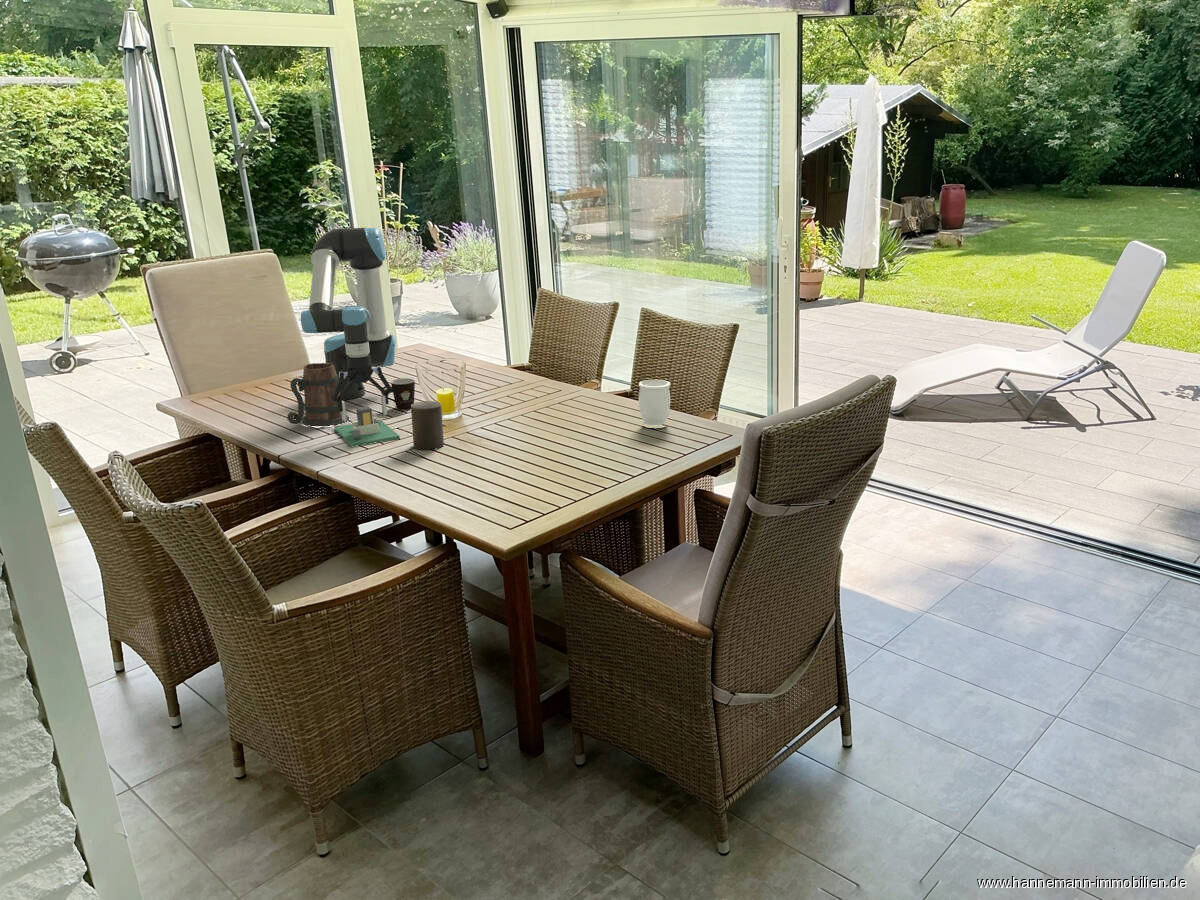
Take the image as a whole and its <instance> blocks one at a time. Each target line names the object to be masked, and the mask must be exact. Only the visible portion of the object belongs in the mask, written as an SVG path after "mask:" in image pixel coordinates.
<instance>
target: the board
mask: <svg viewBox="0 0 1200 900" xmlns="http://www.w3.org/2000/svg"><path fill="white" fill-rule="evenodd" d="M333 428H334V429H335V430H336V431H337V432H338V433H339V434H340V435H341V436H342V437H343V438H344V439H345V440H346V441H347V442H348V443H349V444H350V445H351V446H355V447H357V446H356V445H360V446H364V445H363V444H366V445H371V444H370V443H372V444H375V443H374V442H378V443H381V442H380V441H384V442H388V440H389V441H393V440H394V439H395V440H399V439H401V438H400V435H399V434H398V433H397V432H396V431H394V429H392V427H390V426H388V425H387V423H385V422H384V421H383V420H381V419H376V418H373V424H369V425H363V426H358V421H357V420H356V421H351V423H350V424H346V425H345V424H342V425H338V426H334V427H333ZM335 430H334V431H335ZM336 431H335V432H336ZM337 432H336V433H337ZM338 433H337V434H338ZM339 434H338V435H339ZM341 436H340V437H341ZM342 437H341V438H342ZM343 438H342V439H343ZM344 439H343V440H344ZM345 440H344V441H345ZM346 441H345V442H346ZM347 442H346V443H347ZM348 443H347V444H348ZM349 444H348V445H349ZM350 445H349V446H350ZM351 446H350V447H351Z"/></svg>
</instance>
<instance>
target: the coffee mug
mask: <svg viewBox="0 0 1200 900" xmlns="http://www.w3.org/2000/svg"><path fill="white" fill-rule="evenodd" d="M415 382H416V379H414V378H410V377H409V378H407V377H404V378H396V379H393V380H391V381H390V384H391V385H390V386H391V388H392V389H393V392H392V394H393V399H392V398H391V397H389V396H388V401H389V400H390V401H392V402H393V403H395V404H394V405H395V408H396V409H397V410H398V411H409V410H411V405H412V404H414V403H415V388H416V386H415V384H416V383H415ZM382 388H383V389H384V390H386V389H387V388H386V387H385V386H383V387H382ZM380 392H381V391H380ZM381 394H383V393H382V392H381Z"/></svg>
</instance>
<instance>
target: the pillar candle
mask: <svg viewBox="0 0 1200 900" xmlns="http://www.w3.org/2000/svg"><path fill="white" fill-rule="evenodd" d="M442 410H443V409H442V403H441V402H439V401H437V400H433V401H432V400H427V401H426V400H425V401H423V400H422V401H417V402H416V401H415V402H414V404H412V405H411V409H410V411H411V413H410V415H411V428H412V439H413V440H412V441H413V443H412V445H413V447H414V448H415V449H416V450H420V451H422V450H423V451H426V450H427V451H431V449H433V450H436V449H435V448H437V449H440V448H442V447H444V446H443V445H445V440H444V427H443V424H444V423H443V412H442Z"/></svg>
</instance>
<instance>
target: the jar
mask: <svg viewBox="0 0 1200 900" xmlns="http://www.w3.org/2000/svg"><path fill="white" fill-rule="evenodd" d="M638 387H639V391H638V392H639V393H638V407H639V413H640V417H641V420H642V423H644V424H647V425H662V424H665V423H667V420H668V418H669V415H670V407H671V392H670V387H671V382H670V381H668V380H664V379H647V380H646V379H645V380H641V381H640V382H639V383H638Z"/></svg>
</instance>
